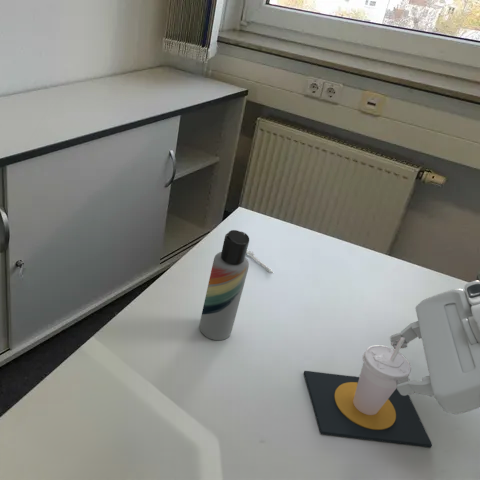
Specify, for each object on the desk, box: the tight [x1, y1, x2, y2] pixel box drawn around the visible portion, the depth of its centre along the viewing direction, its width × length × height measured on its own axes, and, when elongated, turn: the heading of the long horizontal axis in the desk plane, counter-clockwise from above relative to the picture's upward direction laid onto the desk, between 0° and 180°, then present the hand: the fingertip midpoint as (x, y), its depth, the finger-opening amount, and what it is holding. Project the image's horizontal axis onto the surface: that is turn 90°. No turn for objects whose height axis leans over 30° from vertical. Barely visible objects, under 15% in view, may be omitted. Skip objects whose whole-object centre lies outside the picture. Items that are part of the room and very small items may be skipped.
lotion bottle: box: [199, 229, 250, 341], centre depth 90 cm, size 6×6×20 cm
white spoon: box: [246, 248, 275, 275], centre depth 115 cm, size 14×4×2 cm, turn 30°
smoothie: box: [353, 337, 412, 415], centre depth 79 cm, size 6×6×14 cm
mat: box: [303, 370, 433, 448], centre depth 83 cm, size 16×12×1 cm
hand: (395, 364), depth 78 cm, fingers open, 8 cm apart
